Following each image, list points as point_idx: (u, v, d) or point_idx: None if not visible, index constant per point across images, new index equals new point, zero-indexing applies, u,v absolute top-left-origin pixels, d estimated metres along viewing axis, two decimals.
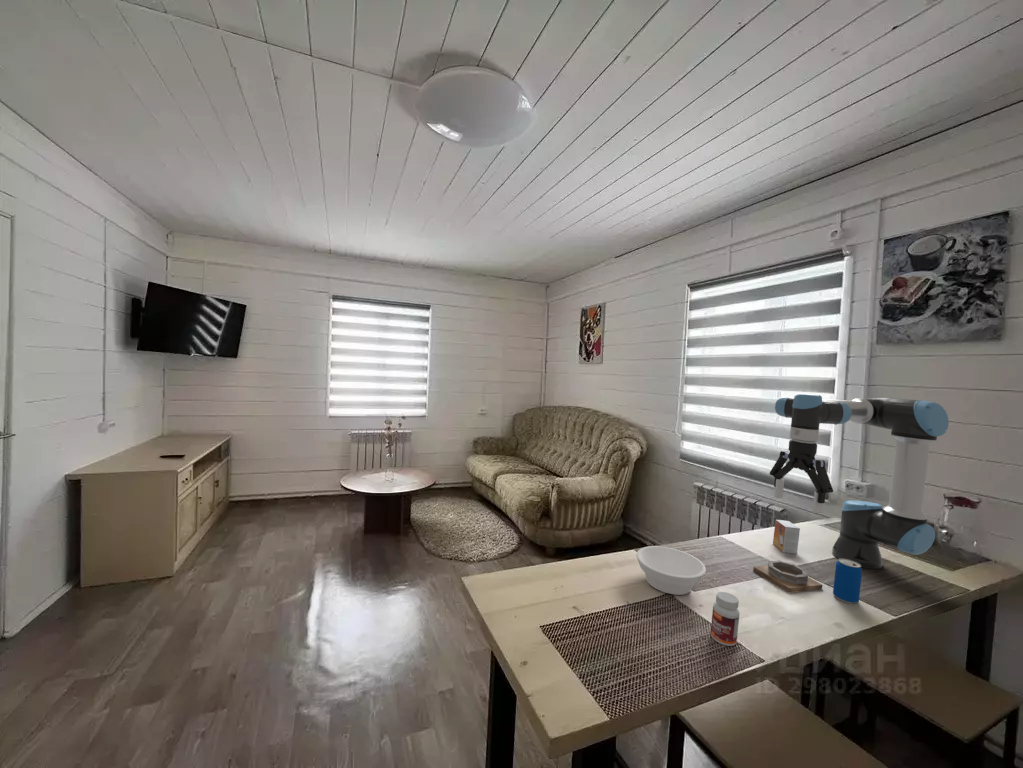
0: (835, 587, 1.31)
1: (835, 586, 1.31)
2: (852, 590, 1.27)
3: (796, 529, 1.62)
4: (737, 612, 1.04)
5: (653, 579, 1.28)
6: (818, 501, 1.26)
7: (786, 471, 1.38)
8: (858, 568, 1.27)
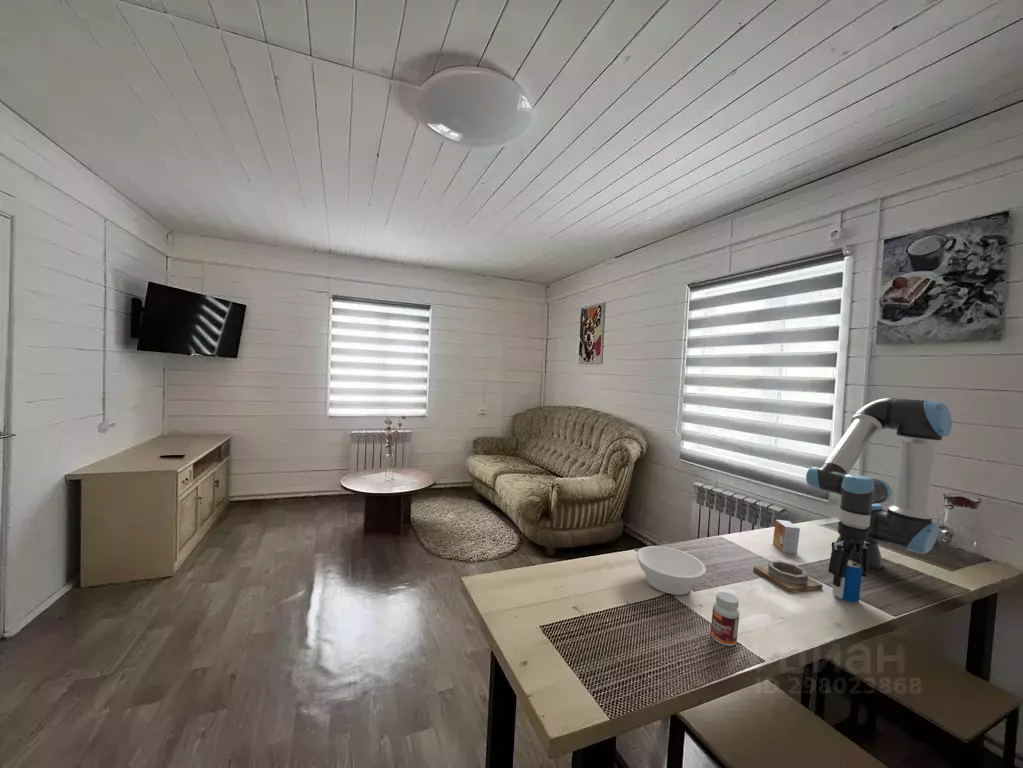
0: None
1: None
2: (852, 590, 1.27)
3: (796, 529, 1.62)
4: (737, 612, 1.04)
5: (653, 579, 1.28)
6: None
7: (855, 561, 1.31)
8: (858, 568, 1.27)
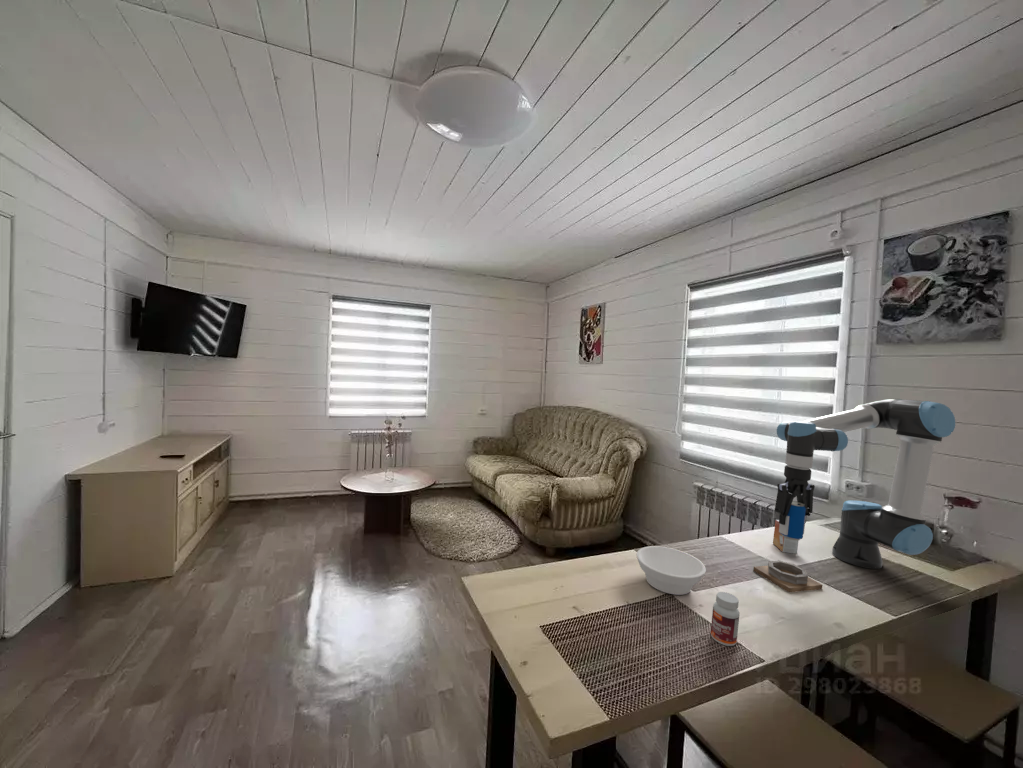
0: None
1: None
2: (796, 527, 1.37)
3: None
4: (737, 612, 1.04)
5: (653, 579, 1.28)
6: None
7: (800, 502, 1.40)
8: (801, 507, 1.37)
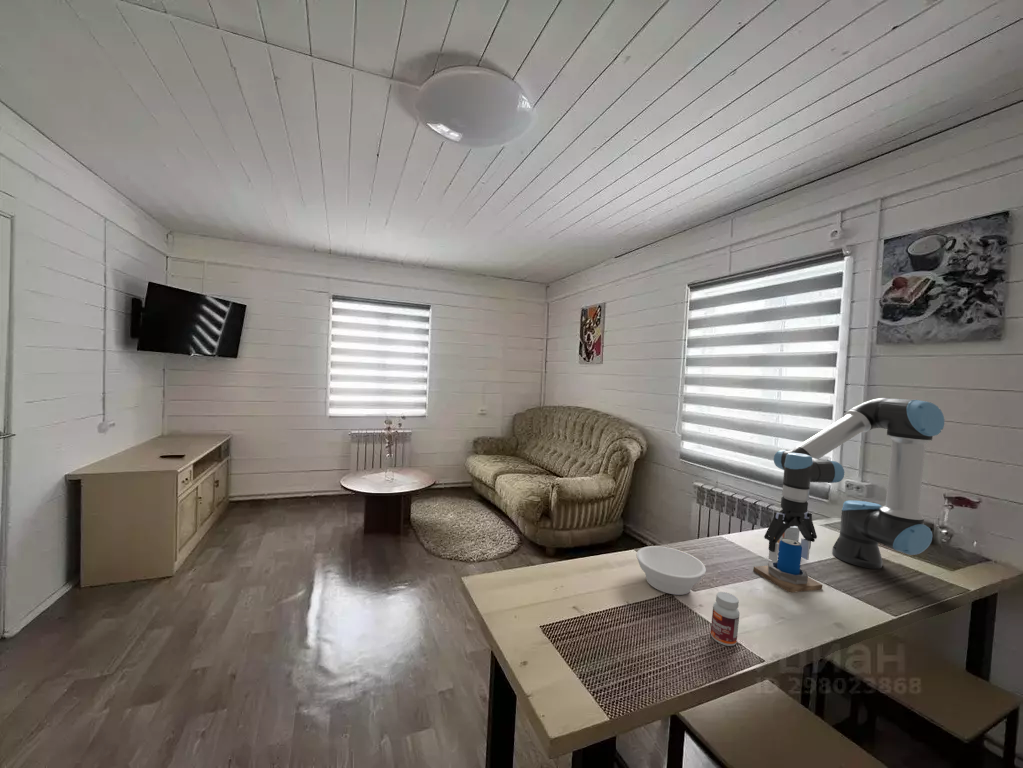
0: (778, 564, 1.41)
1: (778, 563, 1.41)
2: (793, 566, 1.37)
3: (796, 529, 1.62)
4: (737, 612, 1.04)
5: (653, 579, 1.28)
6: None
7: (801, 530, 1.41)
8: (798, 546, 1.37)
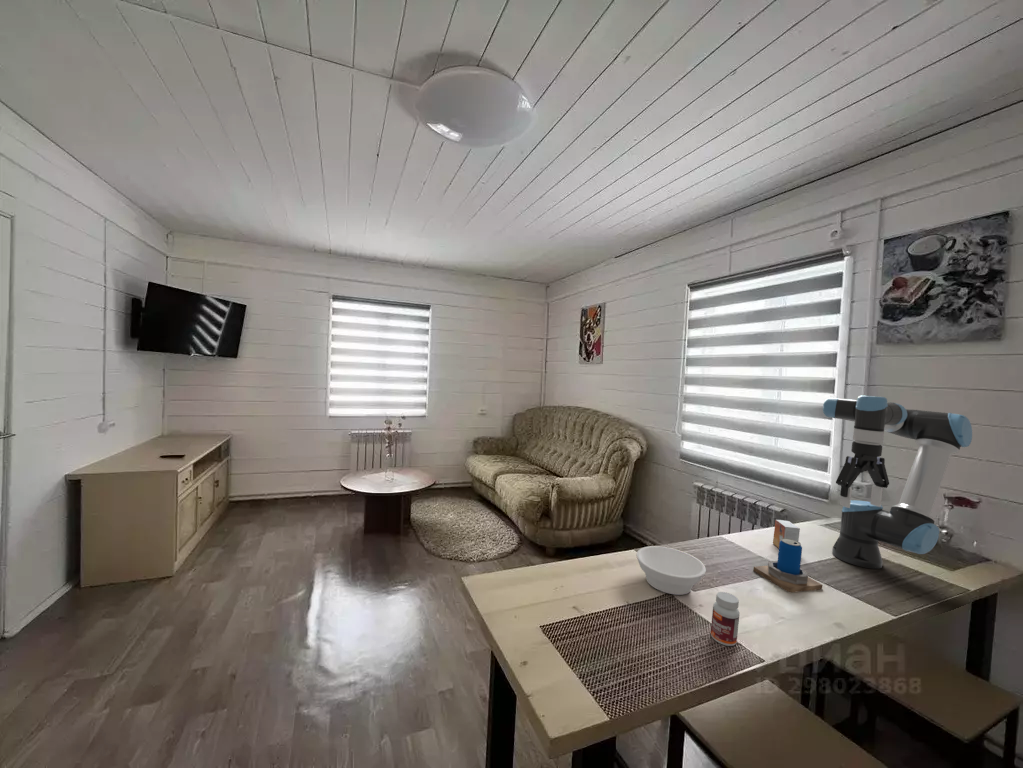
0: (778, 564, 1.41)
1: (778, 563, 1.41)
2: (793, 567, 1.37)
3: (796, 529, 1.62)
4: (737, 612, 1.04)
5: (653, 579, 1.28)
6: None
7: (873, 476, 1.36)
8: (798, 546, 1.37)
